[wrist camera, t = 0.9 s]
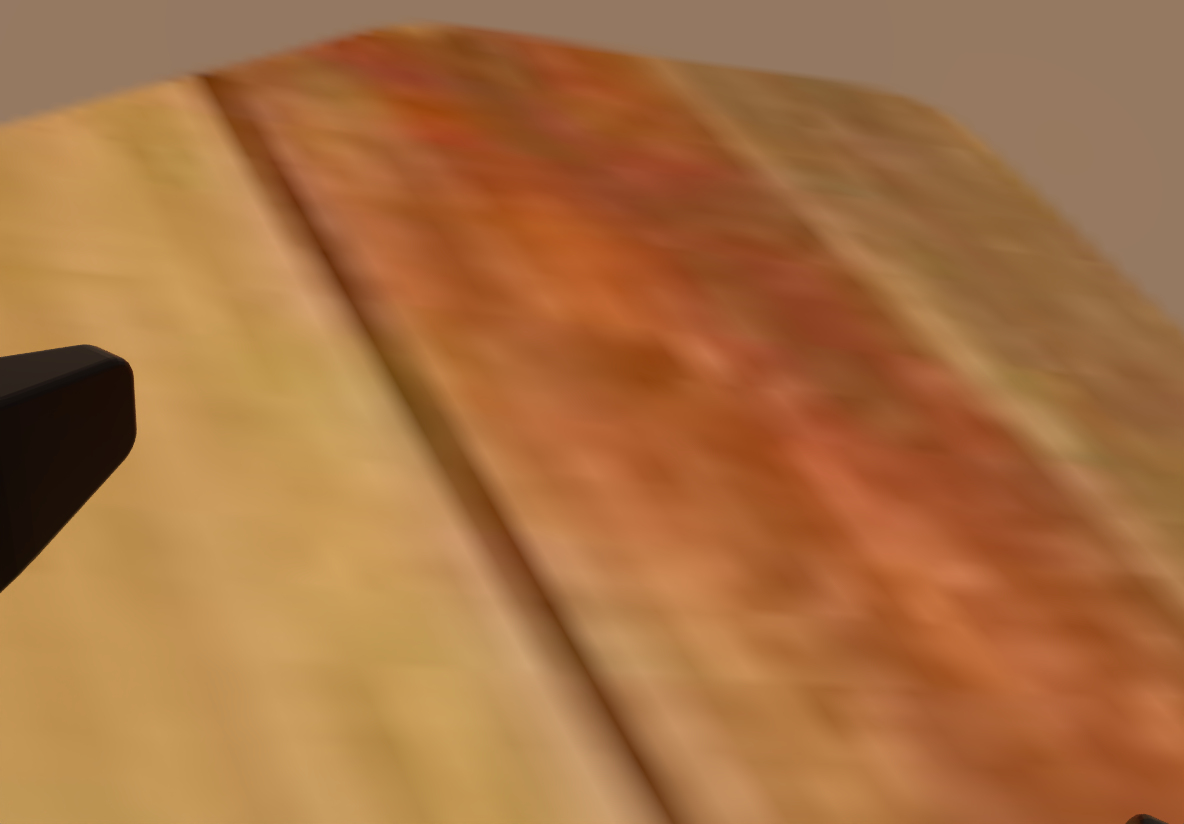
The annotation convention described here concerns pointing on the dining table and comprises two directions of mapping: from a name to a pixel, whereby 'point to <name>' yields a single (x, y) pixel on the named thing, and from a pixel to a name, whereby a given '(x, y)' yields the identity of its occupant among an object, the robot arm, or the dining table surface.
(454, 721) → the dining table surface
